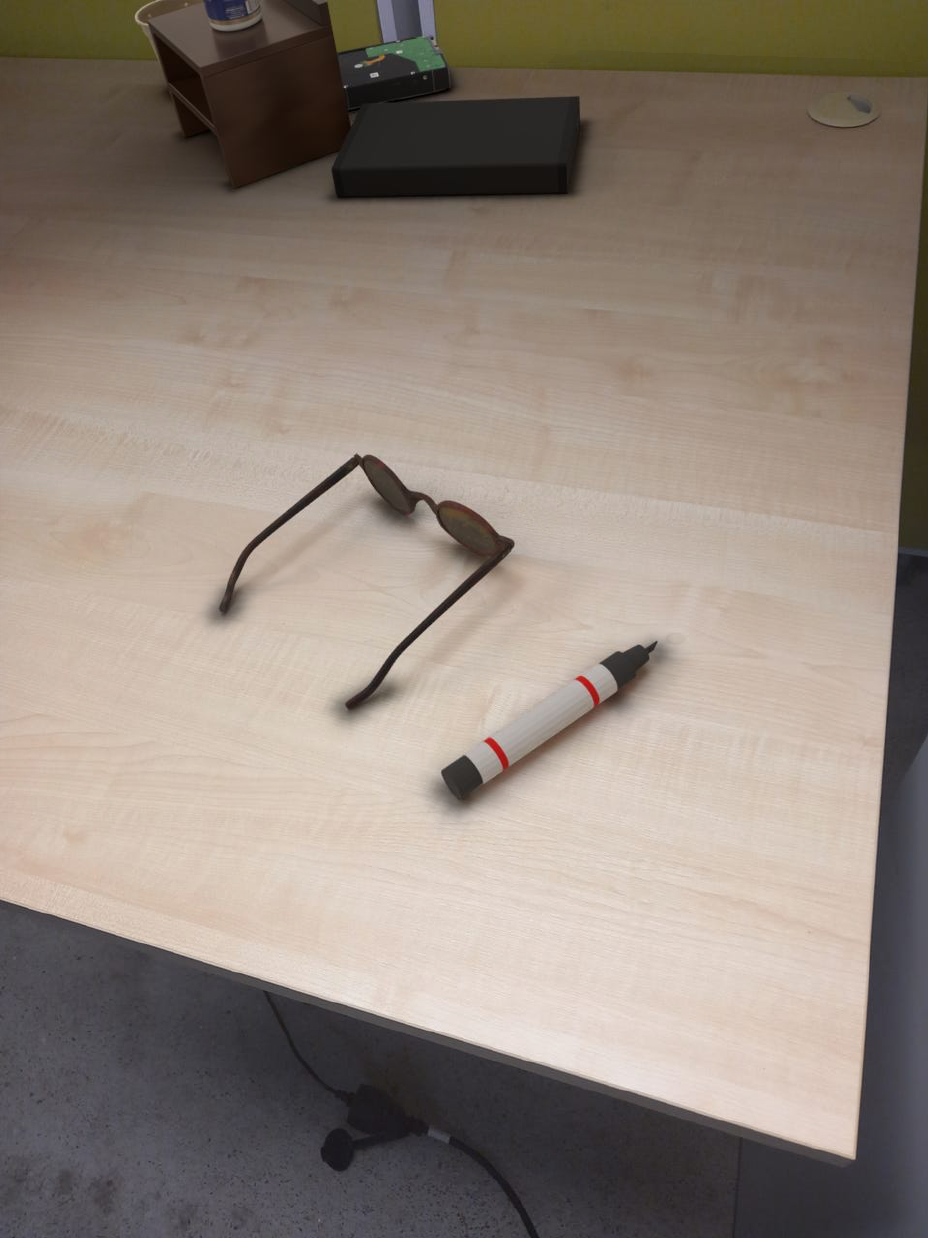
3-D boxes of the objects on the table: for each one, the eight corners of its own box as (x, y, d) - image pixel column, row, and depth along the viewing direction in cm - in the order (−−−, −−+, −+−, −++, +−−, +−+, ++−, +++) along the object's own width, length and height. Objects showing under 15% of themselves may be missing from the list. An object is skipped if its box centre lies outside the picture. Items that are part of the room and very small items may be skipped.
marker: (463, 805, 57) (459, 787, 56) (443, 782, 58) (438, 763, 57) (667, 663, 62) (668, 643, 60) (644, 644, 63) (645, 623, 61)
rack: (234, 188, 106) (193, 44, 96) (182, 134, 116) (139, -2, 105) (354, 144, 110) (327, 1, 99) (294, 95, 119) (263, -40, 109)
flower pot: (211, 63, 128) (190, -14, 121) (250, 82, 123) (230, 3, 116) (145, 90, 125) (120, 12, 118) (183, 111, 120) (158, 32, 113)
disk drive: (325, 118, 115) (453, 89, 116) (320, 92, 113) (450, 63, 114) (313, 81, 122) (434, 54, 122) (308, 56, 119) (431, 29, 120)
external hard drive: (367, 130, 111) (362, 102, 109) (580, 124, 107) (580, 94, 105) (337, 197, 103) (331, 168, 100) (568, 193, 99) (567, 163, 96)
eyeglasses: (517, 572, 68) (512, 518, 64) (359, 719, 62) (344, 670, 58) (364, 484, 75) (351, 431, 71) (208, 608, 69) (185, 557, 65)
